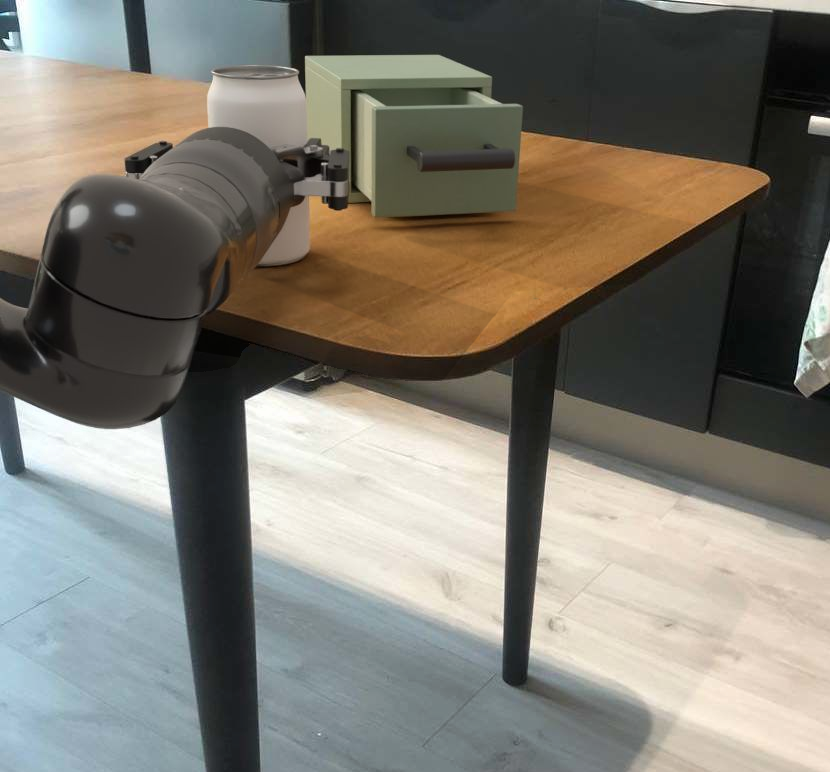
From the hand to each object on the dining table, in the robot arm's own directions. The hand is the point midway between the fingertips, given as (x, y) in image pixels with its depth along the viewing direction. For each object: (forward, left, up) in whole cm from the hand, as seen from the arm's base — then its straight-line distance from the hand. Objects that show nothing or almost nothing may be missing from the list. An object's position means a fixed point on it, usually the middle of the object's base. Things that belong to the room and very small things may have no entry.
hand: (266, 151), depth 75 cm
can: (-1, -2, -7) cm, 7 cm away
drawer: (+14, +7, -6) cm, 17 cm away
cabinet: (+14, +19, -7) cm, 24 cm away
